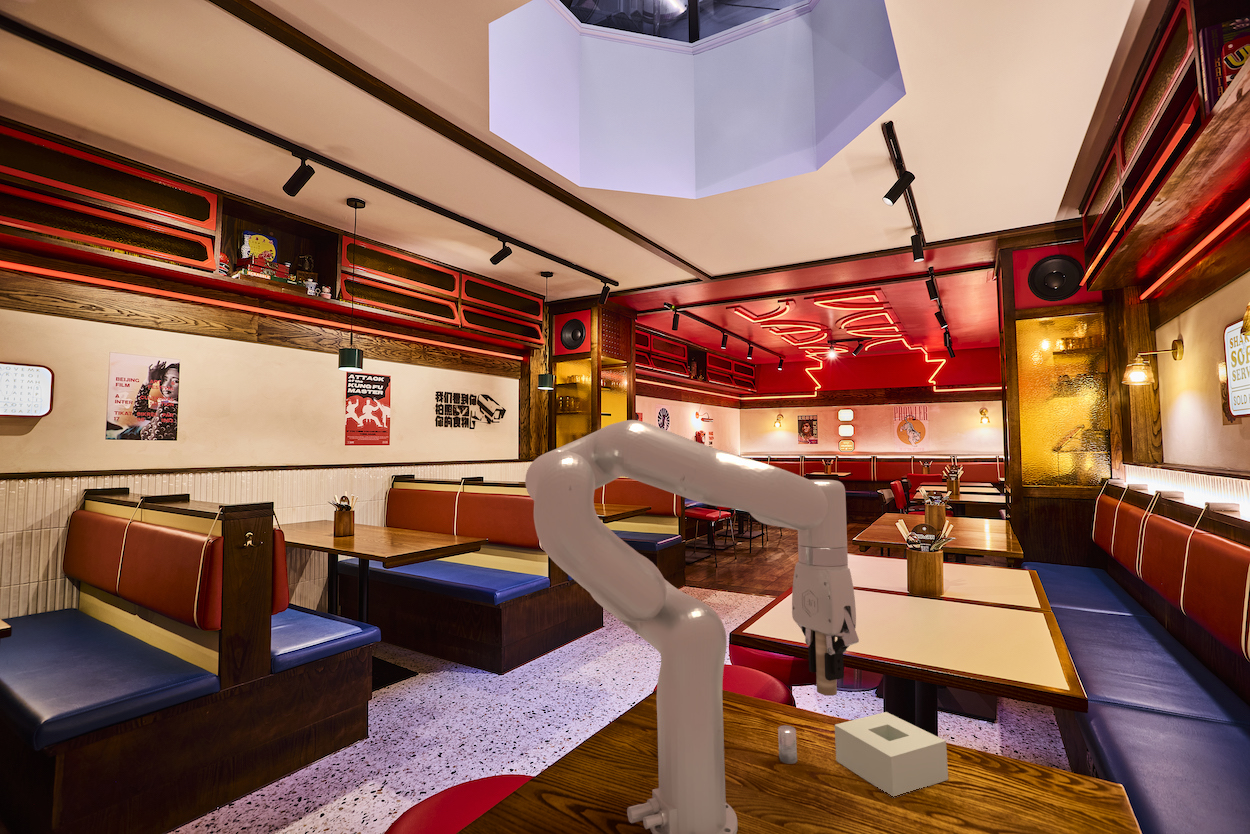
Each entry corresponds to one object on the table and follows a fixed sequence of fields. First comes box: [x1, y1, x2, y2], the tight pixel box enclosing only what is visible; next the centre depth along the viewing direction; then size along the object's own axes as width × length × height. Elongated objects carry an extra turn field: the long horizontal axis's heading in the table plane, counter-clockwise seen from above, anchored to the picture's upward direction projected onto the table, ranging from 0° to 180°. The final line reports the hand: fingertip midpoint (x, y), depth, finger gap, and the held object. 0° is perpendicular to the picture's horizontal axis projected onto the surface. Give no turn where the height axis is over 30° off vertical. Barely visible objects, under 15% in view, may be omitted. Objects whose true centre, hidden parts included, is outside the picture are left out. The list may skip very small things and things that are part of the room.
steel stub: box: [777, 724, 798, 765], centre depth 100 cm, size 3×3×5 cm
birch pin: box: [815, 631, 838, 697], centre depth 91 cm, size 3×3×12 cm
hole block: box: [834, 711, 949, 798], centre depth 96 cm, size 12×12×6 cm
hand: (826, 673), depth 91 cm, fingers closed on birch pin, 3 cm apart
